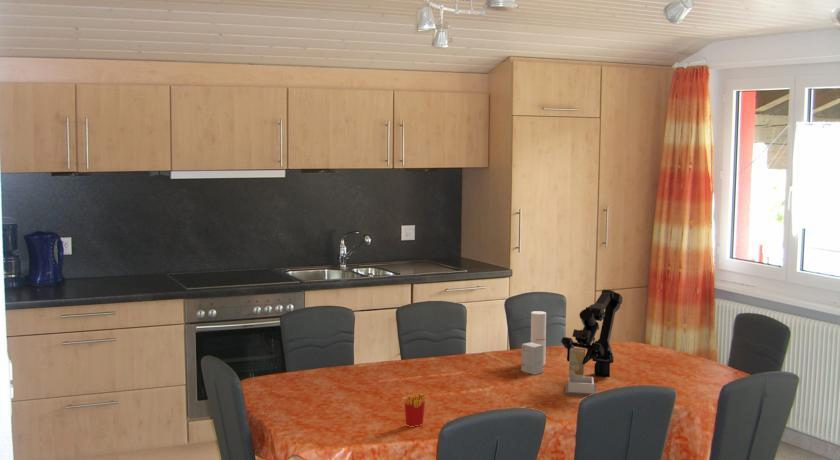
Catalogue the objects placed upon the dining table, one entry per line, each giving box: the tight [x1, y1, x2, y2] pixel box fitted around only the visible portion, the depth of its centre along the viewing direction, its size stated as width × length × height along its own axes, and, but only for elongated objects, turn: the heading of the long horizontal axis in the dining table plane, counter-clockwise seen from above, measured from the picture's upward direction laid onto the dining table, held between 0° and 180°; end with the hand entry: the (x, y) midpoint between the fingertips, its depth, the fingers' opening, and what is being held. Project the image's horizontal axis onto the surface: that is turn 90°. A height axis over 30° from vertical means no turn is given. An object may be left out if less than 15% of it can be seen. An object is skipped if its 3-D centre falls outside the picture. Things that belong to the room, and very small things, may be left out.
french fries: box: [404, 392, 426, 426], centre depth 310 cm, size 8×4×12 cm, turn 125°
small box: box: [520, 341, 544, 375], centre depth 380 cm, size 8×6×13 cm
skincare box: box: [568, 347, 586, 379], centre depth 351 cm, size 6×4×12 cm
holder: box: [564, 375, 597, 397], centre depth 352 cm, size 13×13×5 cm
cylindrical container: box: [530, 310, 547, 366], centre depth 392 cm, size 7×7×25 cm
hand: (575, 362), depth 350 cm, fingers closed on skincare box, 7 cm apart
